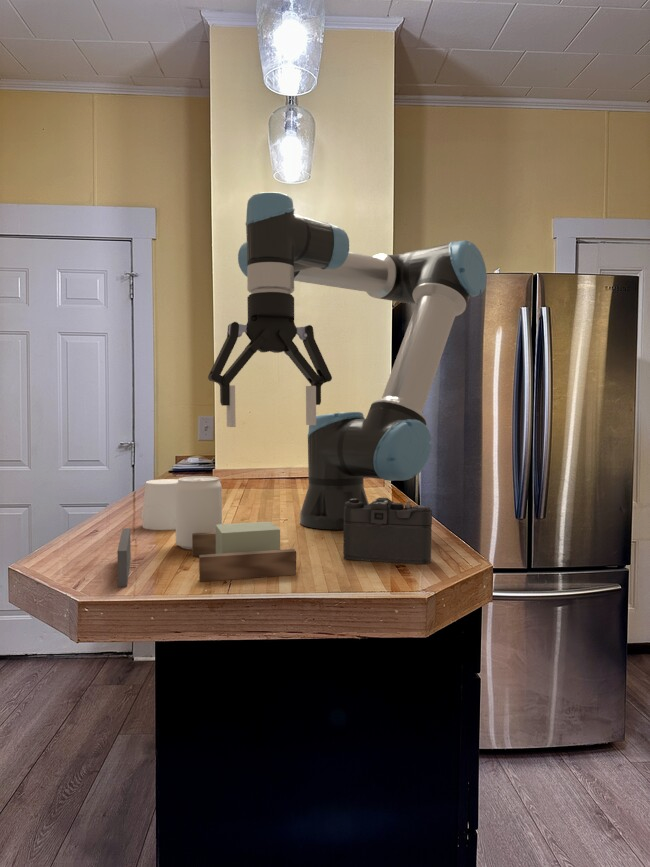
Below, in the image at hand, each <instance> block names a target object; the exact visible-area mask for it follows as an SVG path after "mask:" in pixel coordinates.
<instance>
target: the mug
mask: <svg viewBox="0 0 650 867" xmlns="http://www.w3.org/2000/svg"><path fill="white" fill-rule="evenodd" d="M178 479H179V478H167V479H166V478H165V479H163V478H161V479H150V480H147V481H146V482H145V485H144V486H145V487H144V494H143V495H144V496H143V508H142V509H141V516H140V518H141V520H142V521H143V522H142V528H143V529H146V530H152V531H172V530H175V531H176V514H175V486H176V484H177V483H178Z"/></svg>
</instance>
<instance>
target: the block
mask: <svg viewBox="0 0 650 867" xmlns="http://www.w3.org/2000/svg"><path fill="white" fill-rule="evenodd" d="M270 550H281V529H280V528H279V527H278V526H276V525H275V524H274V523H273V522H272V521H269V520H268V521H256V522H255V521H254V522H251V521H250V522H239V523H237V522H236V523H222V524H216V554H222V553H238V552H254V551H270Z"/></svg>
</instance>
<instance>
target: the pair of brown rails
mask: <svg viewBox="0 0 650 867" xmlns="http://www.w3.org/2000/svg"><path fill="white" fill-rule="evenodd" d="M191 550H192V557H198V568H199V569H198V570H199V571H198V572H199V573H198V579H199V582H200V583H203V582H205V583H206V582H214V581H215V582H216V581H230V580H242V579H255V578H256V579H257V578H270V577H280V576H281V577H282V576H294V575H295V576H296V575H297V550H296V549H295V548H289V549H280V550H270V551H254V552H238V553H222V554H216V532H209V533H192V549H191Z"/></svg>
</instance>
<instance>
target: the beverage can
mask: <svg viewBox="0 0 650 867" xmlns="http://www.w3.org/2000/svg"><path fill="white" fill-rule="evenodd" d="M177 479H178V483H177V484H176V486H175V514H176V529H175V545H176V546H179V547H180V548H182V549H186V550H192V533H209V532H216V524H223V493H222V492H223V488H222V487H223V486H222V483H221V482H220V478H219V477H217V476H210V475H209V476H208V475H207V476H203V475H202V476H200V475H199V476H197V475H196V476H185V477H184V476H183V477H180V478H177Z"/></svg>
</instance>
